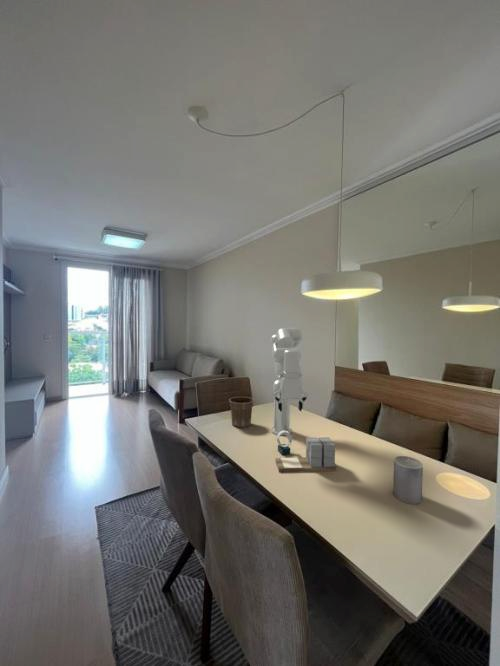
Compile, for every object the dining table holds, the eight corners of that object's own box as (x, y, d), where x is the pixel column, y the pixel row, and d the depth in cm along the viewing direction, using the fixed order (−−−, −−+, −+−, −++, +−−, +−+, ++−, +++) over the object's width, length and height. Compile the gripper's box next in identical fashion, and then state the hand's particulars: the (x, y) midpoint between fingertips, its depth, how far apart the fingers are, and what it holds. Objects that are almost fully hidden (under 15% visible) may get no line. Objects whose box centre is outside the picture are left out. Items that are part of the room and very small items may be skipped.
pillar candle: (396, 486, 116) (397, 450, 115) (424, 495, 110) (425, 457, 109) (390, 497, 108) (391, 459, 108) (419, 508, 102) (420, 467, 101)
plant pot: (225, 421, 188) (225, 397, 187) (247, 418, 195) (247, 395, 194) (234, 430, 173) (234, 404, 173) (257, 426, 180) (258, 401, 179)
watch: (293, 453, 143) (294, 432, 143) (279, 455, 141) (279, 434, 140) (288, 449, 149) (289, 428, 148) (274, 451, 146) (274, 429, 146)
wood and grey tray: (275, 461, 135) (275, 437, 135) (328, 460, 137) (329, 436, 137) (279, 472, 125) (279, 446, 125) (336, 470, 127) (337, 445, 127)
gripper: (306, 374, 142) (305, 407, 143) (272, 373, 140) (271, 408, 141) (310, 377, 134) (309, 412, 135) (274, 376, 133) (274, 413, 134)
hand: (290, 410), depth 138 cm, fingers open, 9 cm apart
